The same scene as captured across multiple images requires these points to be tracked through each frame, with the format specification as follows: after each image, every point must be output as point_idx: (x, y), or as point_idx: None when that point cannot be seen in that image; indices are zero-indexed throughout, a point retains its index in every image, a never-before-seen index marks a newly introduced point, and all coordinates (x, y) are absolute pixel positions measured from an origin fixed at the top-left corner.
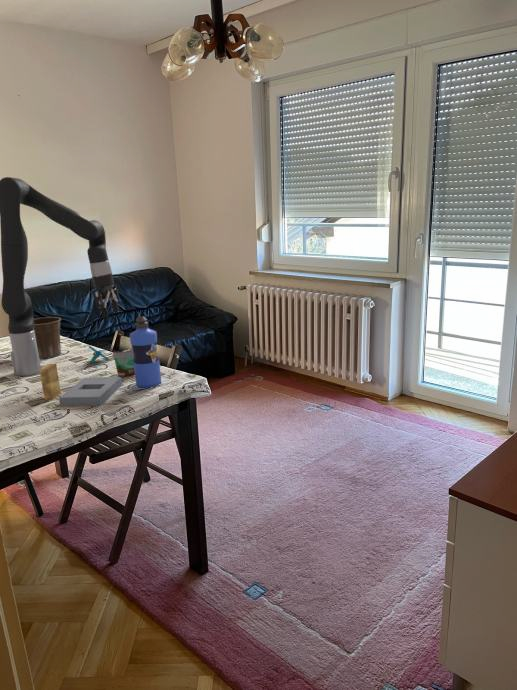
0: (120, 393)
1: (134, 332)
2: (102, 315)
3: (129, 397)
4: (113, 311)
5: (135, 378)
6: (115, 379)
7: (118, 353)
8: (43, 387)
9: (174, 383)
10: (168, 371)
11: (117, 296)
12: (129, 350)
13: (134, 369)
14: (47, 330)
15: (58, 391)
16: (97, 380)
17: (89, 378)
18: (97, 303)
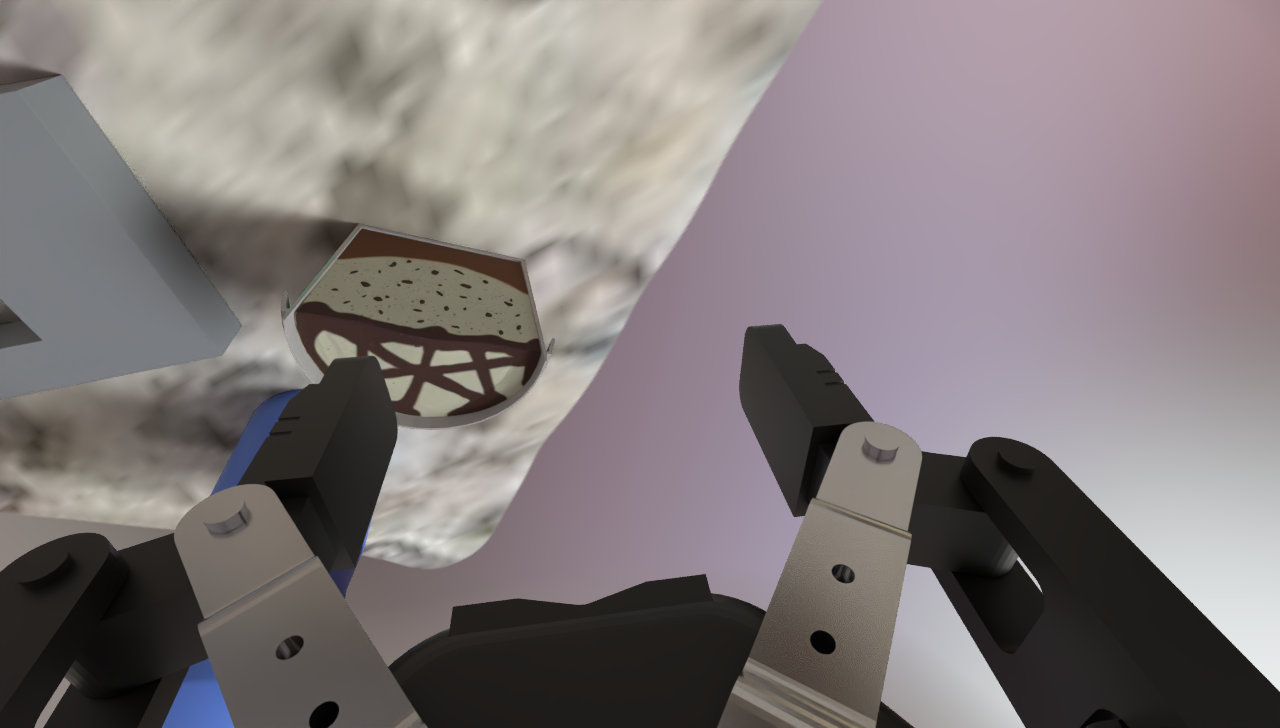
0: (120, 386)
1: None
2: (292, 402)
3: (108, 449)
4: (748, 331)
5: (243, 437)
6: (159, 349)
7: (299, 357)
8: None
9: (380, 512)
10: (531, 426)
11: (957, 607)
12: (436, 368)
13: (220, 479)
14: None
15: None
16: (53, 248)
17: (39, 155)
18: (7, 670)
